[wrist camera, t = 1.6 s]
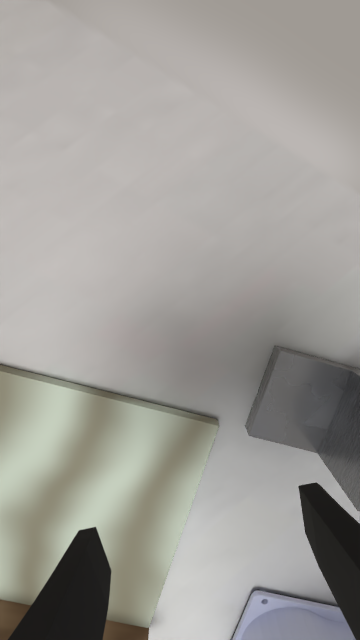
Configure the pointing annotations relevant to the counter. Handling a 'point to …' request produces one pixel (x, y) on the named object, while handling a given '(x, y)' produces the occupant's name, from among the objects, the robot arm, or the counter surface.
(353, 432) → the bracket
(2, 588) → the arena
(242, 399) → the counter surface
